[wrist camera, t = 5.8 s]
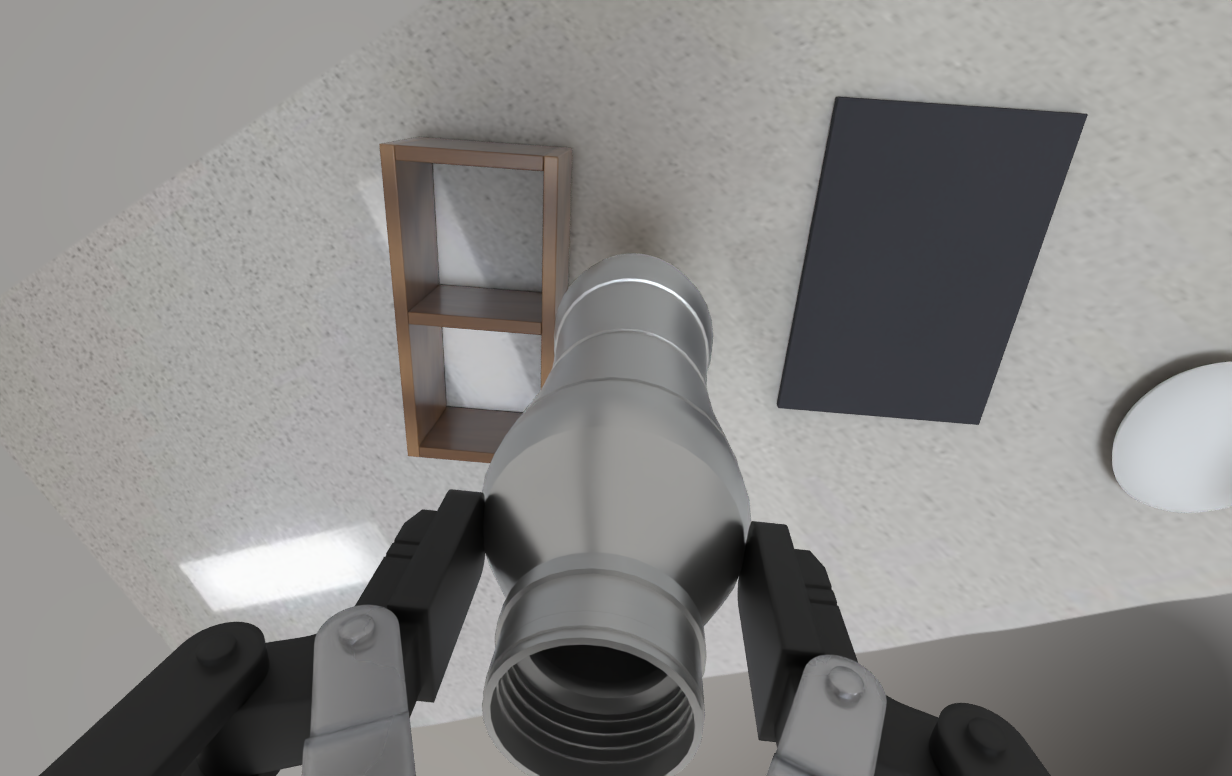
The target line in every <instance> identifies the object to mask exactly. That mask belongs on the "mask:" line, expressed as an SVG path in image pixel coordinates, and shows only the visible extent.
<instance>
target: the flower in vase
mask: <svg viewBox="0 0 1232 776" xmlns="http://www.w3.org/2000/svg"><path fill="white" fill-rule="evenodd" d="M1112 466H1113V472H1114V474H1115V477H1116V480H1117V481H1118V483H1119V485H1120V486H1121V487H1122V489H1123V490H1124V491H1125V492H1126V493H1127V494H1128V495H1130V496H1131V497H1132V498H1134V499H1135V500H1137V501H1139V502H1141V503H1143V504H1146V505H1149V506H1152V507H1155V508H1158V509H1161V510H1165V511H1170V512H1178V513H1195V512H1205V511H1213V510H1218V509H1224V508H1227V507H1231V506H1232V361H1230V362H1221V363H1215V364H1209V365H1205V366H1201V367H1196V368H1193V369H1190V370H1187V371H1184V372H1182V373H1180V374H1177V375H1175V376H1173V377H1171V378H1169V379H1167V380H1165V381H1164V382H1162V383H1160V384H1159V385H1157V386H1156V387H1154V388H1153V389H1152V390H1150V391H1149V392H1148V393H1147V394H1145V395H1144V396H1143V397H1142V398H1141V399H1140V400H1139V401H1138V402H1137V403H1136V404H1135V405H1134V406H1133V407H1132V408H1131V409H1130V411H1129V412H1128V413H1127V414H1126V416H1125V417H1124V419H1123V421H1122V422H1121V424H1120V426H1119V428H1118V430H1117V432H1116V435H1115V438H1114V442H1113V448H1112Z"/></svg>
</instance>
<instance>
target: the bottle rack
mask: <svg viewBox="0 0 1232 776" xmlns="http://www.w3.org/2000/svg"><path fill="white" fill-rule="evenodd" d="M572 152H573V149H572V148H567V147H560V148H559V147H553V146H540V145H526V144H512V143H498V142H484V141H470V140H456V139H443V138H429V137H415V138H409V139H403V140H398V141H392V142H387V143H381V144H380V155H381V166H382V177H383V188H384V199H385V210H386V221H387V232H388V243H389V254H390V265H391V276H392V286H393V297H394V308H395V319H396V330H397V341H398V352H399V363H400V374H401V385H402V396H403V407H404V418H405V429H406V440H407V451H408V456H413V457H425V458H436V459H448V460H459V461H471V462H482V463H491V461H492V458H493V456H494V454H495V452H496V451H497V449H498V448H499V446H500V444H501V442H502V441H503V439H504V437H505V436H506V434H507V433H508V432H509V430H510V429H511V428H512V426H513V425H514V423H515V422H516V421H517V419H518V418H519V417H520V416H521V415H522V414H523V413H517V412H505V411H493V410H482V409H470V408H458V407H446V391H445V374H444V357H443V340H442V327H449V328H461V329H474V330H486V331H498V332H511V333H523V334H535V335H541V389H542V387H543V385H544V383H545V381H546V379H547V377H548V375H549V374H550V372H551V370H552V368H553V363H554V357H555V353H554V330H555V321H556V316H557V311H558V307H559V305H560V303H561V300H562V298H563V296H564V294H565V292H566V291H567V290H568V281H569V249H570V217H571V185H572ZM432 163H437V164H451V165H465V166H478V167H492V168H506V169H519V170H533V171H544V175H543V253H542V293H540V292H527V291H514V290H502V289H489V288H477V287H464V286H451V285H439V271H438V254H437V237H436V220H435V203H434V186H433V169H432Z"/></svg>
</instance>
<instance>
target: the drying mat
mask: <svg viewBox="0 0 1232 776" xmlns="http://www.w3.org/2000/svg"><path fill="white" fill-rule="evenodd" d="M1086 118H1087V114H1081V113H1066V112H1052V111H1037V110H1023V109H1008V108H994V107H979V106H965V105H950V104H936V103H921V102H906V101H892V100H877V99H863V98H848V97H836V99H835V105H834V110H833V115H832V120H831V125H830V131H829V136H828V141H827V146H826V152H825V157H824V162H823V167H822V172H821V178H820V183H819V188H818V193H817V198H816V204H815V209H814V214H813V219H812V224H811V230H810V235H809V240H808V245H807V250H806V256H805V261H804V266H803V271H802V276H801V282H800V287H799V292H798V297H797V302H796V308H795V313H794V318H793V323H792V328H791V334H790V339H789V344H788V349H787V354H786V360H785V365H784V370H783V375H782V380H781V386H780V391H779V396H778V401H777V406H778V408H785V409H797V410H809V411H821V412H832V413H844V414H856V415H868V416H880V417H892V418H904V419H916V420H928V421H940V422H951V423H963V424H975V425H979V423H980V420H981V417H982V414H983V411H984V408H985V406H986V403H987V400H988V397H989V394H990V391H991V389H992V386H993V383H994V380H995V377H996V374H997V371H998V369H999V366H1000V363H1001V360H1002V357H1003V354H1004V351H1005V349H1006V346H1007V343H1008V340H1009V337H1010V334H1011V331H1012V329H1013V326H1014V323H1015V320H1016V317H1017V314H1018V312H1019V309H1020V306H1021V303H1022V300H1023V297H1024V294H1025V292H1026V289H1027V286H1028V283H1029V280H1030V277H1031V274H1032V272H1033V269H1034V266H1035V263H1036V260H1037V257H1038V255H1039V252H1040V249H1041V246H1042V243H1043V240H1044V237H1045V235H1046V232H1047V229H1048V226H1049V223H1050V220H1051V217H1052V215H1053V212H1054V209H1055V206H1056V203H1057V200H1058V198H1059V195H1060V192H1061V189H1062V186H1063V183H1064V180H1065V178H1066V175H1067V172H1068V169H1069V166H1070V163H1071V160H1072V158H1073V155H1074V152H1075V149H1076V146H1077V143H1078V141H1079V138H1080V135H1081V132H1082V129H1083V126H1084V123H1085V121H1086Z"/></svg>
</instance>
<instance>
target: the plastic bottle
mask: <svg viewBox="0 0 1232 776" xmlns="http://www.w3.org/2000/svg"><path fill="white" fill-rule="evenodd" d="M712 343H713V328H712V320H711V316H710V313H709V310H708V306H707V304H706V302H705V301H704V299H703V297H702V295H701V293H700V291H699V290H698V289H697V288H696V287H695V285H694V284H693V283H692V282H691V281H690V279H689V278H688V277H687V276H686V275H685V274H683V273H682V272H681V271H680V270H678V269H677V268H676V267H675V266H673V265H672V264H670V263H668V262H666V261H664V260H662V259H660V258H657V257H654V256H650V255H647V254H636V253H629V254H621V255H615V256H612V257H610V258H607V259H604V260H602V261H600V262H599V263H597V264H595V265H594V266H592V267H590V268H589V269H587V270H585V271H584V272H583V273H582V274H581V275H580V276H579V277H578V278H577V279H575V280H574V281H573V283H572V284H571V285H570V287H569V288H568V290H567V291H566V292H565V294H564V296H563V298H562V300H561V303H560V305H559V307H558V311H557V316H556V321H555V330H554V353H555V357H554V363H553V368H552V370H551V372H550V374H549V375H548V377H547V379H546V381H545V383H544V385H543V387H542V389H541V391H540V392H539V393H538V395H537V396H536V397H535V398H534V400H533V401H532V402H531V403H530V405H529V406H528V407H527V409H526V410H525V411H524V412H523V414H522V415H521V416H520V417H519V418H518V419H517V421H516V422H515V423H514V425H513V426H512V428H511V429H510V430H509V432H508V433H507V434H506V436H505V437H504V439H503V441H502V442H501V444H500V446H499V448H498V449H497V451H496V452H495V454H494V456H493V458H492V461H491V463H490V465H489V468H488V470H487V472H486V475H485V479H484V484H483V490H482V493H484V496H485V507H484V518H483V538H484V549H485V553H486V556H487V559H488V563H489V566H490V568H491V570H492V572H493V574H494V576H495V578H496V580H497V582H498V584H499V586H500V588H501V590H502V592H503V594H504V596H505V598H506V600H505V602H504V604H503V607H502V610H501V613H500V616H499V619H498V623H497V628H496V633H495V651H494V654H493V658H492V661H491V664H490V667H489V670H488V673H487V676H486V681H485V686H484V691H483V702H482V711H483V720H484V723H485V726H486V729H487V732H488V735H489V736H490V738H491V740H492V741H493V743H494V744H495V746H496V748H497V749H498V750H499V751H500V752H501V753H502V754H503V756H504V757H505V758H506V759H507V760H508V761H509V762H510V763H512V764H513V765H514V766H516V767H517V768H518V769H520V770H521V771H522V772H524V773H525V774H527V775H529V776H675V775H677V774H678V773H679V772H681V771H682V770H683V769H684V768H685V767H686V766H687V765H688V763H689V762H690V761H691V760H692V758H693V757H694V756H695V754H696V752H697V750H698V748H699V745H700V743H701V740H702V733H703V725H704V718H705V709H704V695H703V681H702V677H703V675H704V671H705V664H706V644H705V634H704V625H705V624H706V623H707V622H708V621H709V620H710V618H711V617H712V616H713V615H714V614H715V613H716V611H717V610H718V609H719V608H720V607H721V606H722V604H723V603H724V601H725V600H726V599H727V597H728V596H729V594H730V593H731V591H732V590H733V589H734V586H735V584H736V582H737V579H738V577H739V574H740V572H741V569H742V564H743V558H744V552H745V546H746V540H747V535H748V530H749V526H750V524H751V514H750V500H749V496H748V493H747V490H746V487H745V484H744V481H743V477H742V474H741V472H740V469H739V466H738V463H737V460H736V457H735V455H734V453H733V451H732V449H731V447H730V445H729V443H728V441H727V439H726V437H725V435H724V433H723V431H722V429H721V427H720V425H719V423H718V421H717V419H716V417H715V415H714V413H713V410H712V406H711V402H710V399H709V396H708V391H707V388H706V385H707V371H708V368H709V365H710V360H711V352H712Z"/></svg>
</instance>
